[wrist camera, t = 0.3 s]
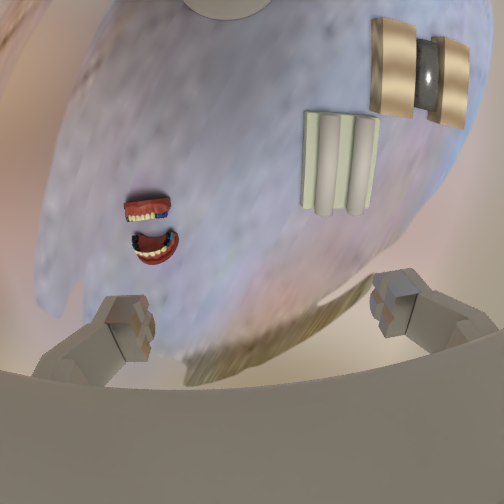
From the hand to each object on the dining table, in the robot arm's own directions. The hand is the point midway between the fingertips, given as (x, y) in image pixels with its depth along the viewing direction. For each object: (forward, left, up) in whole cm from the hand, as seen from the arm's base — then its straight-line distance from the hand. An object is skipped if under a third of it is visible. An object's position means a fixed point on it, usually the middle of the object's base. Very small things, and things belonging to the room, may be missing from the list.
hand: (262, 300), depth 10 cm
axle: (-11, +30, -39) cm, 50 cm away
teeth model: (+16, -16, -39) cm, 45 cm away
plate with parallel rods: (+6, +16, -38) cm, 42 cm away
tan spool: (-11, +30, -38) cm, 50 cm away
